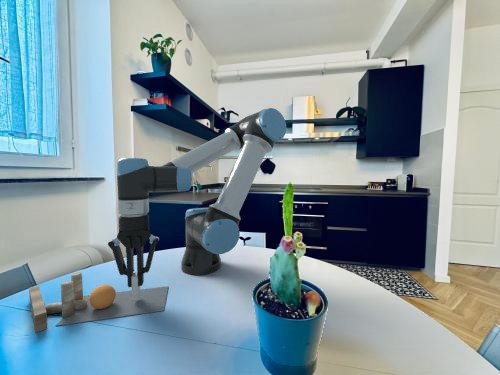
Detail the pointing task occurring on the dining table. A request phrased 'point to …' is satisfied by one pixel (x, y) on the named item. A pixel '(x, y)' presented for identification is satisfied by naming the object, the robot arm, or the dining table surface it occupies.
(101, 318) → the mat
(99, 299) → the ball
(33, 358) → the dining table surface
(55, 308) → the front pin
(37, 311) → the back wall
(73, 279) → the pin
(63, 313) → the pin
